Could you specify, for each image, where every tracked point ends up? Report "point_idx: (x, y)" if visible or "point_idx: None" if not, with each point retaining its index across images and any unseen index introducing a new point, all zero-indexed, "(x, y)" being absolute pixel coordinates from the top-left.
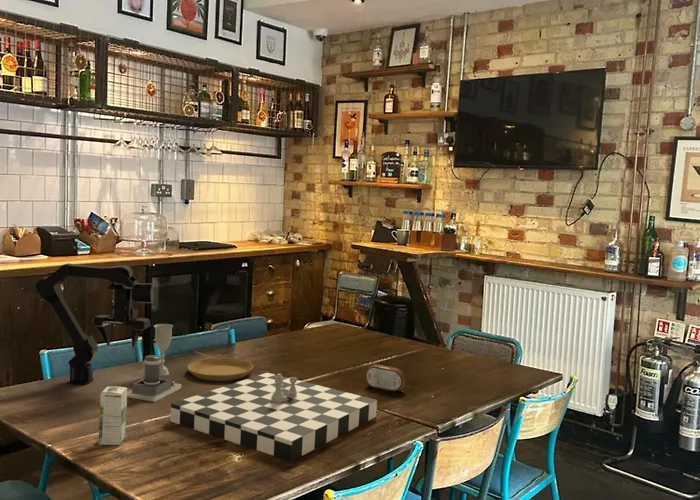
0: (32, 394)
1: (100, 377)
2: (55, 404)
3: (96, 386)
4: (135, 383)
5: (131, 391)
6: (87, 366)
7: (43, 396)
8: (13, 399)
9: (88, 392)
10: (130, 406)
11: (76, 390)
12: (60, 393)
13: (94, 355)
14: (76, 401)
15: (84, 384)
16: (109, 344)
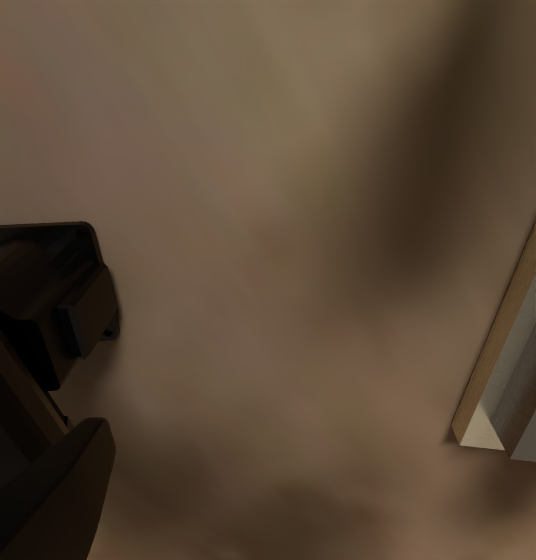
0: None
1: (83, 137)
2: (200, 555)
3: (199, 326)
4: (531, 448)
5: (489, 426)
6: (60, 379)
7: None
8: None
9: (226, 418)
10: (521, 511)
11: (147, 410)
12: None
13: (44, 413)
14: (255, 517)
15: (118, 332)
16: (104, 429)
